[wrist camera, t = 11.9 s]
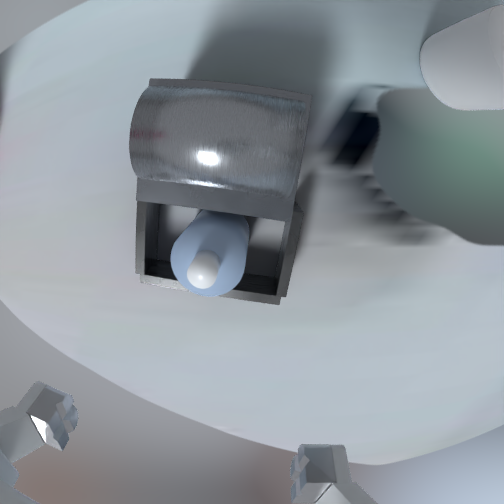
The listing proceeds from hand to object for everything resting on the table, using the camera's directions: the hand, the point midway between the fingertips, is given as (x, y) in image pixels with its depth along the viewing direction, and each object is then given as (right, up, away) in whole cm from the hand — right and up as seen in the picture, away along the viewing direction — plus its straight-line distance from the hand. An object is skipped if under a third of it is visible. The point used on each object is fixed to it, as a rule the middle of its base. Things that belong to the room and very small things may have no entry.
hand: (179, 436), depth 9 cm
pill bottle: (+21, +23, +12) cm, 34 cm away
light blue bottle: (0, +8, +18) cm, 20 cm away
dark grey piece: (0, +11, +17) cm, 20 cm away
